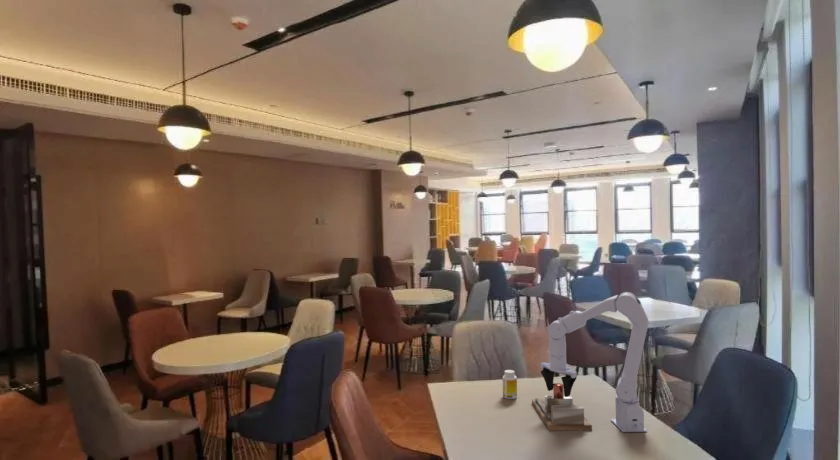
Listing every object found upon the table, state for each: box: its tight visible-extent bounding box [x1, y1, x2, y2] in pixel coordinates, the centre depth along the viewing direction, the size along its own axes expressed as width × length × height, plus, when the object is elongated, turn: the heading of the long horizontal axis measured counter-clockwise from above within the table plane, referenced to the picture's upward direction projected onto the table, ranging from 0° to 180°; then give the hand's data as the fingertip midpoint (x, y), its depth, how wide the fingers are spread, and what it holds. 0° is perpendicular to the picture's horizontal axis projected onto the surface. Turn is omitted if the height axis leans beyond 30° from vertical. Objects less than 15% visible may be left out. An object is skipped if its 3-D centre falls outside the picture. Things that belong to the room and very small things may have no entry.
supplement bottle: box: [502, 369, 518, 400], centre depth 185 cm, size 6×6×10 cm
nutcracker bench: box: [531, 397, 593, 431], centre depth 166 cm, size 24×14×6 cm, turn 0°
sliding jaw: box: [544, 382, 574, 411], centre depth 167 cm, size 4×9×9 cm, turn 90°
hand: (558, 393), depth 167 cm, fingers open, 7 cm apart
